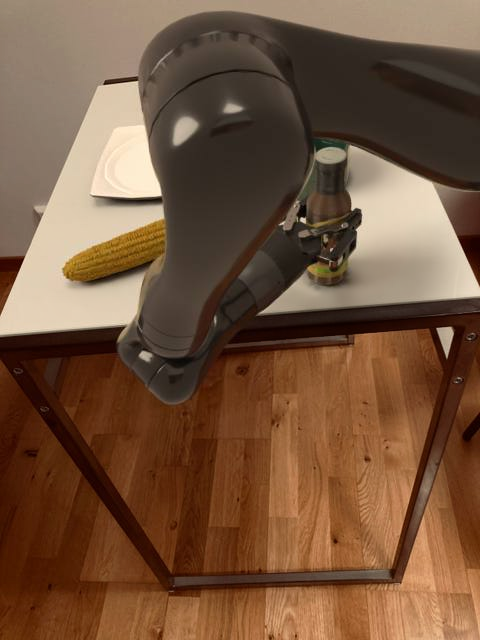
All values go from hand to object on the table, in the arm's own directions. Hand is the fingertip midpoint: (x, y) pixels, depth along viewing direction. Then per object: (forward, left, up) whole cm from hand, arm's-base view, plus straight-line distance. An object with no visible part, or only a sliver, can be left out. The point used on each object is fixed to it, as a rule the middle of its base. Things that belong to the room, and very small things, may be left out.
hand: (337, 205), depth 70 cm
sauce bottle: (+1, +2, -11) cm, 11 cm away
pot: (+9, -23, -11) cm, 27 cm away
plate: (+39, -25, -11) cm, 48 cm away
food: (+33, +5, -11) cm, 35 cm away
